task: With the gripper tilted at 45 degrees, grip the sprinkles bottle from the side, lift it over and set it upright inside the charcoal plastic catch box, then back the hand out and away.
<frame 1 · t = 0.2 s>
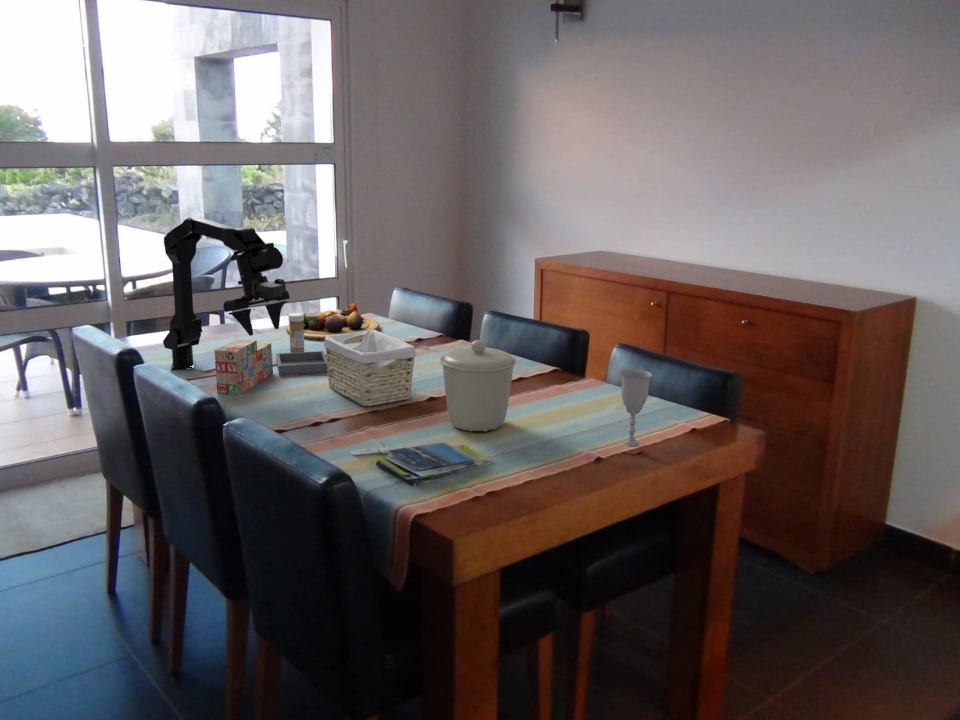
hand: (264, 332, 226), 15 cm above the table, tool pointing down, fingers open, 9 cm apart
wooden plate with food: (333, 331, 296), on the table
stack of blocks: (246, 384, 234), on the table
catch box: (302, 368, 249), on the table
chalice: (630, 451, 190), on the table
canister: (476, 426, 204), on the table
sprinkles bottle: (297, 357, 261), on the table
storage basket: (369, 394, 227), on the table
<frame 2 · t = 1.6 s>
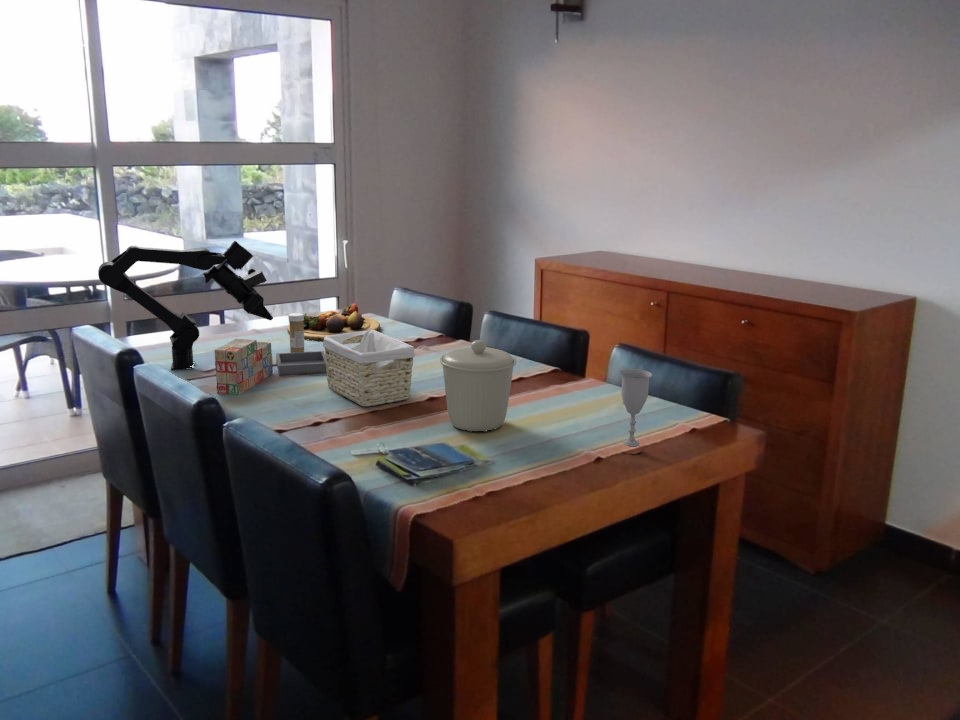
hand: (269, 316, 254), 13 cm above the table, tool tilted 45°, fingers open, 9 cm apart
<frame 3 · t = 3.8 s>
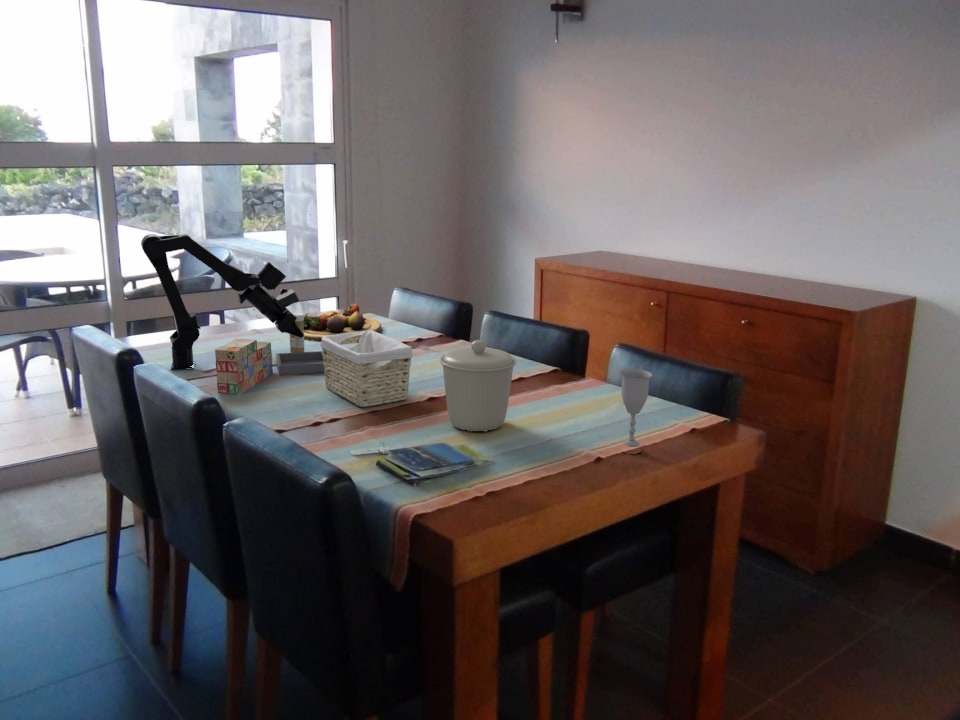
hand: (301, 334, 260), 7 cm above the table, tool tilted 45°, fingers closed on sprinkles bottle, 4 cm apart
sprinkles bottle: (297, 357, 261), on the table, touching gripper
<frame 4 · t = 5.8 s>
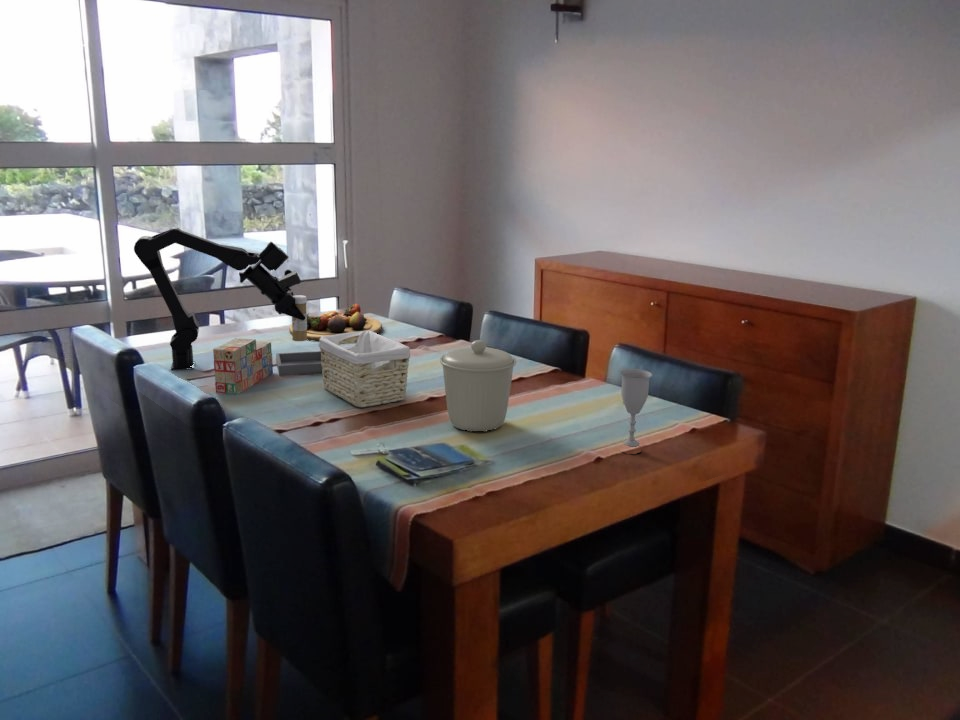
hand: (303, 317, 254), 13 cm above the table, tool tilted 45°, fingers closed on sprinkles bottle, 4 cm apart
sprinkles bottle: (300, 340, 255), point 6 cm above the table, touching gripper
when the fingers open (9 cm above the table, at t = 7.8 s): sprinkles bottle drops 1 cm, resting on catch box.
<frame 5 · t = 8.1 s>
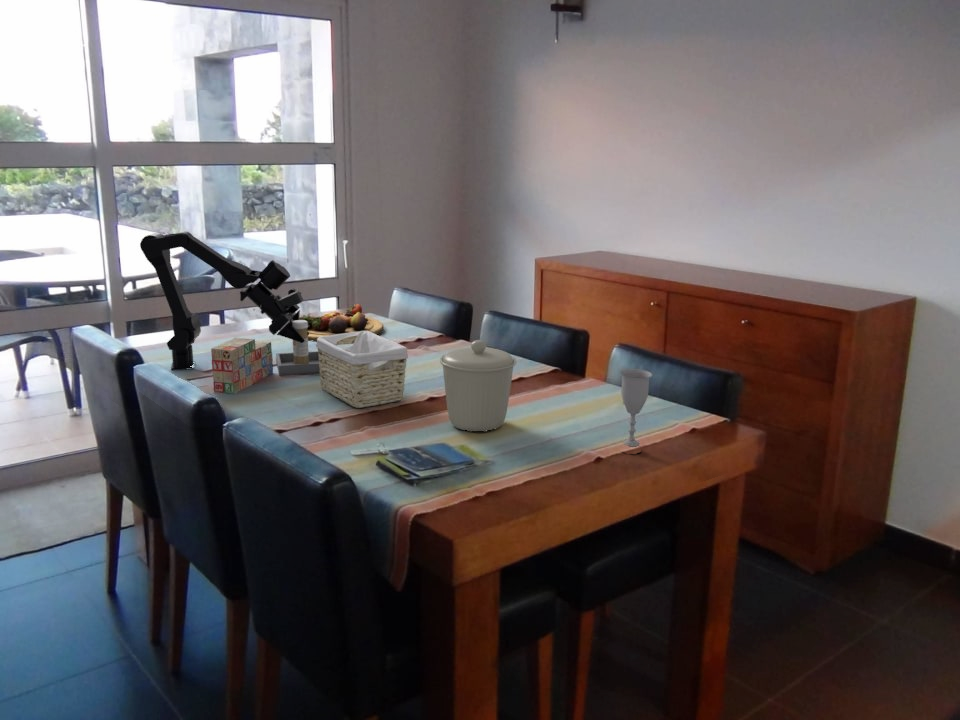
hand: (305, 338, 247), 9 cm above the table, tool tilted 45°, fingers open, 8 cm apart
sprinkles bottle: (301, 366, 249), resting on catch box
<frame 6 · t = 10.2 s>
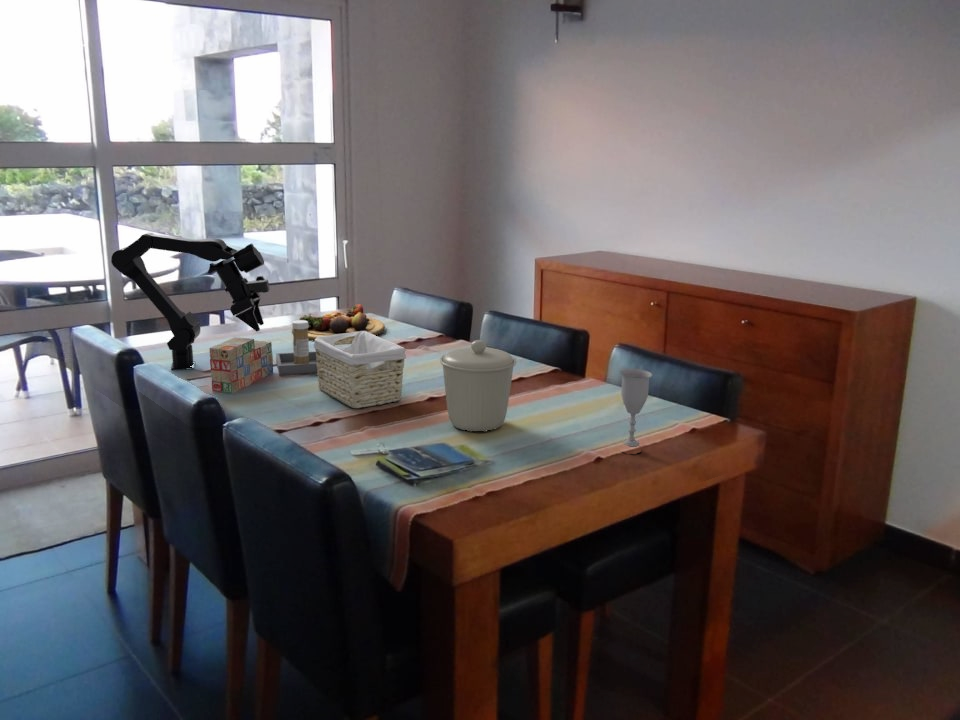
hand: (260, 327, 246), 12 cm above the table, tool tilted 25°, fingers open, 9 cm apart
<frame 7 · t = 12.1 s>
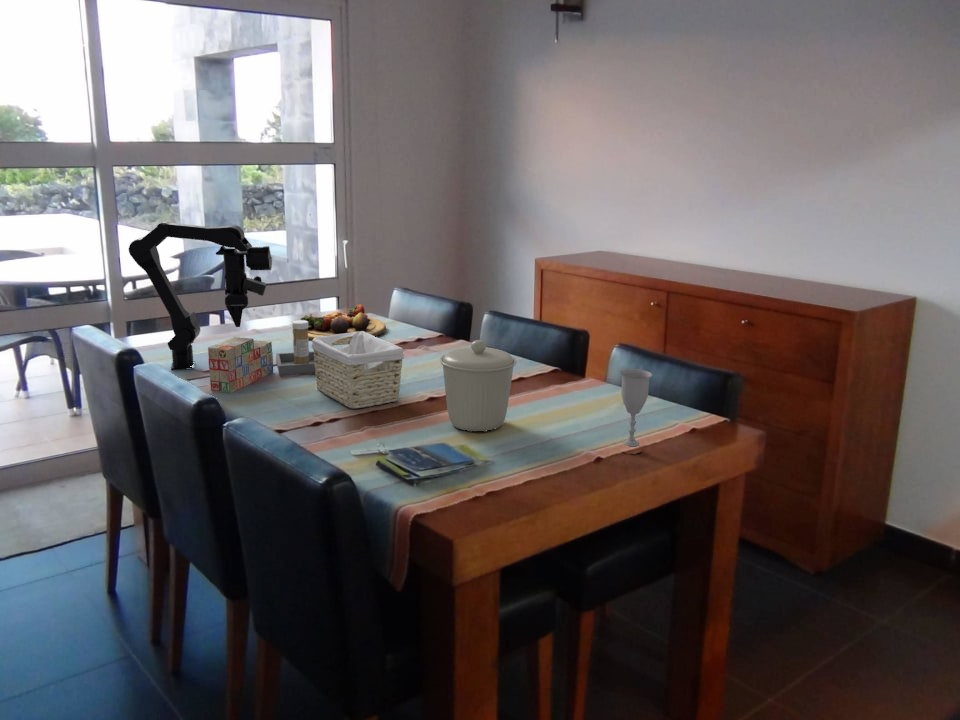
hand: (237, 323, 246), 13 cm above the table, tool pointing down, fingers open, 9 cm apart
at the end: sprinkles bottle inside the target area on the catch box (0.2 cm from its centre), point 0.4 cm above the catch box's base; sprinkles bottle tilted 0°; the gripper is holding nothing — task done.
